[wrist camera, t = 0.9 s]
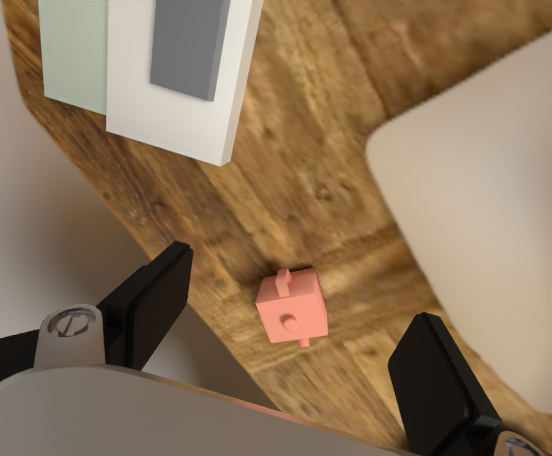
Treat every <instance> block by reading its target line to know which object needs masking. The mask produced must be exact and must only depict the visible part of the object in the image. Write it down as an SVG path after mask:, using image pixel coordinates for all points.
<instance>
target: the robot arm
mask: <svg viewBox="0 0 552 456" xmlns="http://www.w3.org/2000/svg"><path fill="white" fill-rule="evenodd" d="M192 259H193V249H191V248H190V245H189V244H186V243H182V242H179V241H174V242H173V243H172V244H171V245H170V246H169V247H167V248H166V249H165V250H164V251H163V252H162V253H161V254H160V255H158V256H157V257H156V258H155V259H154V260H153V261H152V262H151V263H149V264H148V265H147V266H146V265H145V266H142V267H141V268H139V269H138V270H137V271H136V272H135V273H133V274H132V275H131V276H130V277H129V278H128V279H127V280H125V281H124V282H123V283H122V284H121V285H120V286H118V287H117V288H116V289H115V290H114V291H113V292H112V293H110V294H109V295H108V296H107V297H106V298H105V299H103V300H102V301H101V302H100V303H99V304H98V305H97V306H95V307H94V306H91V305H85V304H78V305H71V306H67V307H64V308H61V309H59V310H57V311H55V312H53V313H51V314H50V315H48V316H47V317H46V319H45V320H44V321H43V322H42V324H41V326H40V329H38V330H33V331H29V332H25V333H20V334H17V335H12V336H8V337H4V338H0V456H545V455H544V453H543V452H542V451H541V450H539V449H538V448H537V447H536V446H535V445H534V444H533V443H531V442H530V441H528V440H527V439H525V438H524V437H522V436H520V435H518V434H516V433H514V432H510V431H504V432H502V431H501V429H500V428H499V426H498V424H499V423H500V422H501V421H502V420H501V419H500V417H499V415H498V414H497V412H496V410H495V409H494V407H493V405H492V404H491V402H490V400H489V399H488V397H487V395H486V394H485V392H484V390H483V388H482V387H481V385H480V383H479V382H478V380H477V378H476V377H475V375H474V373H473V372H472V370H471V368H470V367H469V365H468V363H467V362H466V360H465V358H464V357H463V355H462V353H461V352H460V350H459V348H458V346H457V345H456V343H455V341H454V340H453V338H452V336H451V335H450V333H449V331H448V330H447V328H446V326H445V325H444V323H443V321H442V320H441V318H440V317H439V316H436V315H433V314H429V313H426V312H422V313H421V314H420V315H419V314H417V315H416V316H415V317H414V319H413V320H412V322H411V324H410V325H409V327H408V329H407V330H406V332H405V334H404V335H403V337H402V339H401V340H400V342H399V344H398V345H397V347H396V349H395V350H394V352H393V354H392V356H391V357H390V359H389V362H388V370H389V374H390V378H391V381H392V385H393V389H394V392H395V396H396V400H397V403H398V407H399V411H400V414H401V418H402V422H403V425H404V429H405V433H406V436H407V440H408V444H409V447H410V451H411V452H408V451H404V450H401V449H398V448H395V447H392V446H388V445H385V444H382V443H379V442H376V441H372V440H369V439H366V438H363V437H360V436H357V435H353V434H350V433H347V432H344V431H340V430H337V429H334V428H331V427H327V426H324V425H321V424H318V423H314V422H311V421H308V420H305V419H301V418H298V417H295V416H292V415H288V414H285V413H282V412H279V411H275V410H272V409H269V408H266V407H262V406H259V405H255V404H252V403H249V402H246V401H242V400H239V399H236V398H232V397H229V396H225V395H222V394H219V393H216V392H212V391H209V390H205V389H202V388H199V387H195V386H192V385H189V384H186V383H182V382H179V381H175V380H171V379H168V378H164V377H160V376H157V375H153V374H150V373H147V372H143V371H141V370H142V368H143V367H144V366H145V364H146V363H147V361H148V360H149V358H150V357H151V355H152V354H153V353H154V351H155V350H156V348H157V347H158V345H159V344H160V342H161V341H162V340H163V338H164V337H165V335H166V334H167V332H168V331H169V329H170V328H171V326H172V325H173V324H174V322H175V321H176V319H177V318H178V316H179V315H180V313H181V312H182V310H183V309H184V307H185V305H186V303H187V298H188V290H189V283H190V275H191V267H192Z"/></svg>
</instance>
